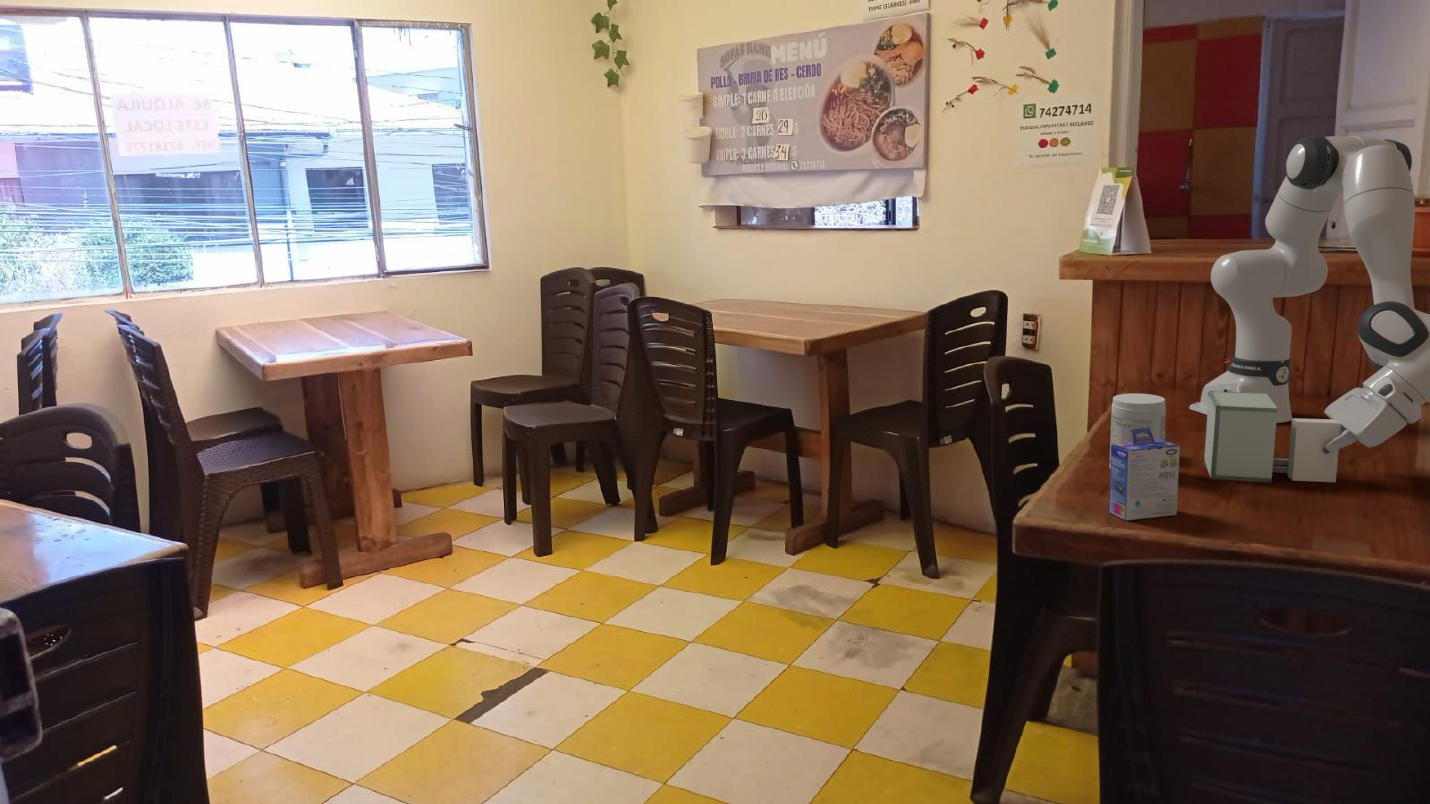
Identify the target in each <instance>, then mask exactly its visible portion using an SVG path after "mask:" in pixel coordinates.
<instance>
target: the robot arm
mask: <svg viewBox="0 0 1430 804" xmlns="http://www.w3.org/2000/svg"><path fill="white" fill-rule="evenodd" d="M1412 165H1413V156H1412V153H1411V150H1410V148H1409V147H1408V146H1407V145H1406V144H1405V143H1402V142H1400V141H1396V140H1394V139H1389V138H1387V139H1386V138H1385V139H1379V138H1375V137H1369V136H1361V135H1360V136H1359V135H1351V136H1350V135H1349V136H1347V135H1346V136H1345V135H1344V136H1343V135H1336V136H1335V135H1333V136H1324V135H1322V134H1321V135H1319V134H1318V135H1317V134H1316V135H1310V136H1305V137H1302V138H1300V139H1299V140H1297V142H1295V143H1294V144H1293V145H1292V147H1291V148H1290V150H1289V151H1288V154H1287V157H1286V161H1285V167H1284V170H1285V177H1284V179H1283V181H1282V182H1281V184H1280V187H1279V188H1278V190H1277V193H1276V195H1275V197H1274V199H1273V202H1272V204H1271V205H1270V208H1269V210H1268V212H1267V215H1266V217H1265V219H1264V221H1265V222H1264V224H1265V228H1266V230H1267V233H1268V234H1269V235H1270V236H1271V237H1272V238H1273V239H1275V243H1274V244H1273V245H1272V247H1270V248H1267V249H1250V250H1247V249H1246V250H1239V251H1235V252H1230V253H1227V254H1224V255H1220V257H1219V258H1217V259H1216V261H1215V262H1214V264H1213V266H1212V268H1211V270H1210V282H1211V285H1212V288H1213V289H1214V291H1215V293H1217V294H1218V295H1219V296H1220V297H1222V298H1223V299H1224V300H1225V301H1226V303H1227V304H1228V305H1229V307H1230V309H1231V311H1232V314H1233V317H1234V321H1235V350H1234V351H1235V352H1234V353H1235V355H1233V356H1232V357H1230V358H1229V357H1228V358H1225V359H1224V361H1225V362H1224V364H1229V365H1228V368H1227V370H1226V371H1225V372H1223V373H1222V374H1220V375H1218V376H1217V377H1216V378H1213V379H1212V380H1211V381H1209V382H1208V383H1207V384H1205V385H1204V387H1203V389H1202V391H1201V396H1200V401H1197V402H1194V403H1192V404H1189V407H1188V408H1189V410H1192V411H1195V412H1197V413H1201V414H1204V415H1207V412H1208V398H1209V391H1215V392H1243V393H1267V395H1268V396H1269V397H1270V399H1271V400H1272V401H1273V403H1274V404H1275V405H1276V407H1277V408H1278V410H1277V422H1276V424H1281V423H1282V424H1283V423H1287V422H1292V418H1293V416H1292V415H1293V414H1292V411H1291V404H1290V395H1289V379H1290V377H1291V370H1292V359H1291V358H1290V357H1291V356H1290V353H1291V342H1292V332H1293V331H1292V330H1293V329H1292V325H1291V323H1290V322H1289V320H1287V319H1286V318H1285V317H1283V316H1281V315H1280V314H1278V313H1277V312H1276V309H1275V307H1274V300H1273V299H1274V298H1287V297H1288V298H1289V297H1299V296H1303V295H1307V294H1310V293H1313V292H1316V291H1318V290H1320V289H1321V288H1322V287H1323V286H1324V284H1325V282H1326V281H1327V278H1328V275H1329V274H1328V273H1329V266H1328V263H1327V260H1326V258H1325V257H1324V256H1323V254H1322V253H1321V252H1320V250H1319V239H1320V237H1321V236H1320V235H1321V233H1322V231H1323V229H1324V227H1325V224H1326V223H1327V220H1328V217H1330V214H1331V212H1332V210H1333V208H1334V206H1335V204H1336V202H1337V200H1338V198H1339V195H1340V194H1343V195H1342V197H1343V198H1342V199H1343V213H1344V219H1345V224H1346V227H1347V230H1348V233H1349V236H1350V239H1351V241H1352V243H1353V246H1354V248H1355V249H1356V250H1357V251H1356V252H1357V253H1358V255H1359V257H1360V258H1361V260H1362V262H1363V264H1364V266H1365V268H1366V270H1367V274H1368V276H1369V278H1370V282H1371V291H1372V299H1373V305H1371V306H1370V307H1369V308H1367V309H1365V311H1364V312H1363V313H1362V314H1361V315H1360V316H1359V318H1358V321H1357V325H1356V330H1357V336H1358V338H1359V341H1360V343H1361V344H1362V346H1363V348H1364V350H1365V352H1366V355H1367V357H1368V361H1369V363H1370V364H1371V365H1372V366H1373V368H1375V369H1376V370H1377V371H1376V372H1374V374H1372V375H1371V376H1370V377H1368V378H1367V379H1366V380H1364V381H1363V382H1361V383H1362V387H1355V388H1353V389H1351V390H1349V391H1348V392H1346V393H1345V394H1343V395H1341V396H1340V397H1338V398H1337V399H1336V400H1334V401H1333V402H1331V403H1330V404H1329V405H1328V406H1327V407H1326V408H1325V410H1324V412H1323V413H1324V414H1325V415H1326V416H1327V417H1328V418H1329V419H1333V420H1336V421H1338V422H1340V423H1341V427H1340V436H1338V437H1337V438H1335V439H1333V440H1332V439H1331V440H1329V441H1328V442H1327V443H1325V444H1324V447H1325V448H1326V449H1327V450H1328V451H1329V452H1330V453H1335V452H1336V451H1338V452H1339V450H1340V449H1342V448H1345V447H1347V446H1349V445H1352V444H1354V443H1355V442H1356V441H1359V442H1360V443H1361V444H1363V445H1364V446H1366V447H1367V448H1374V447H1377V446H1379V445H1381V444H1382V443H1384V442H1386V440H1388V439H1390V438H1391V437H1393V436H1395V435H1396V434H1397V433H1399V432H1400V431H1401V430H1403V429H1404V428H1405V427H1406V426H1407V425H1408V424H1415V423H1416V422H1418V421H1419V420H1420V419H1421V418H1422V417H1423V415H1422V410H1421V409H1422V406H1423V405H1424V404H1425V403H1426V402H1428V401H1429V400H1430V314H1428V313H1426V312H1423V311H1420V310H1418V309H1416V305H1415V299H1414V298H1415V297H1414V291H1413V283H1412V281H1413V280H1412V273H1411V271H1412V269H1411V266H1412V254H1413V253H1412V252H1413V240H1414V230H1415V219H1416V213H1415V212H1416V203H1415V193H1414V184H1413V181H1412V176H1411V170H1412ZM1343 430H1344V431H1343Z"/></svg>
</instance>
